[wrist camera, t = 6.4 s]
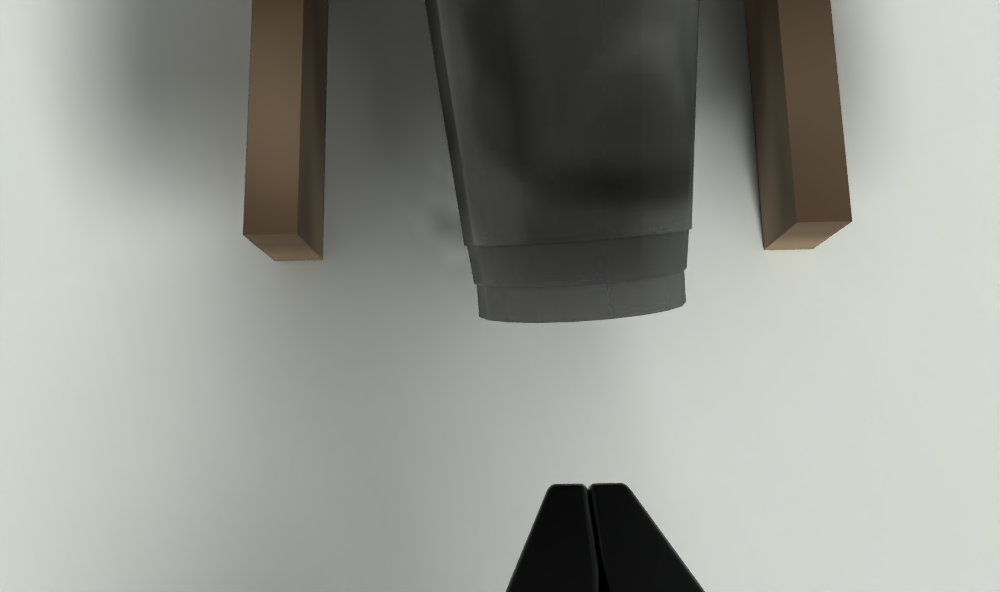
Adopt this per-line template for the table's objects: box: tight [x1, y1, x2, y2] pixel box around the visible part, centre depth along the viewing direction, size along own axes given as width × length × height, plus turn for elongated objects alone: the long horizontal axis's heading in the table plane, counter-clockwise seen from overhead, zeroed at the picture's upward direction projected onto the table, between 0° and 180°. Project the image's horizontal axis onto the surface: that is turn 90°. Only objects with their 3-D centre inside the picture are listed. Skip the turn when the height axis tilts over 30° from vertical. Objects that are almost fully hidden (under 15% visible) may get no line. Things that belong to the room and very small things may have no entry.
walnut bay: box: [243, 0, 852, 261], centre depth 21 cm, size 12×13×2 cm
